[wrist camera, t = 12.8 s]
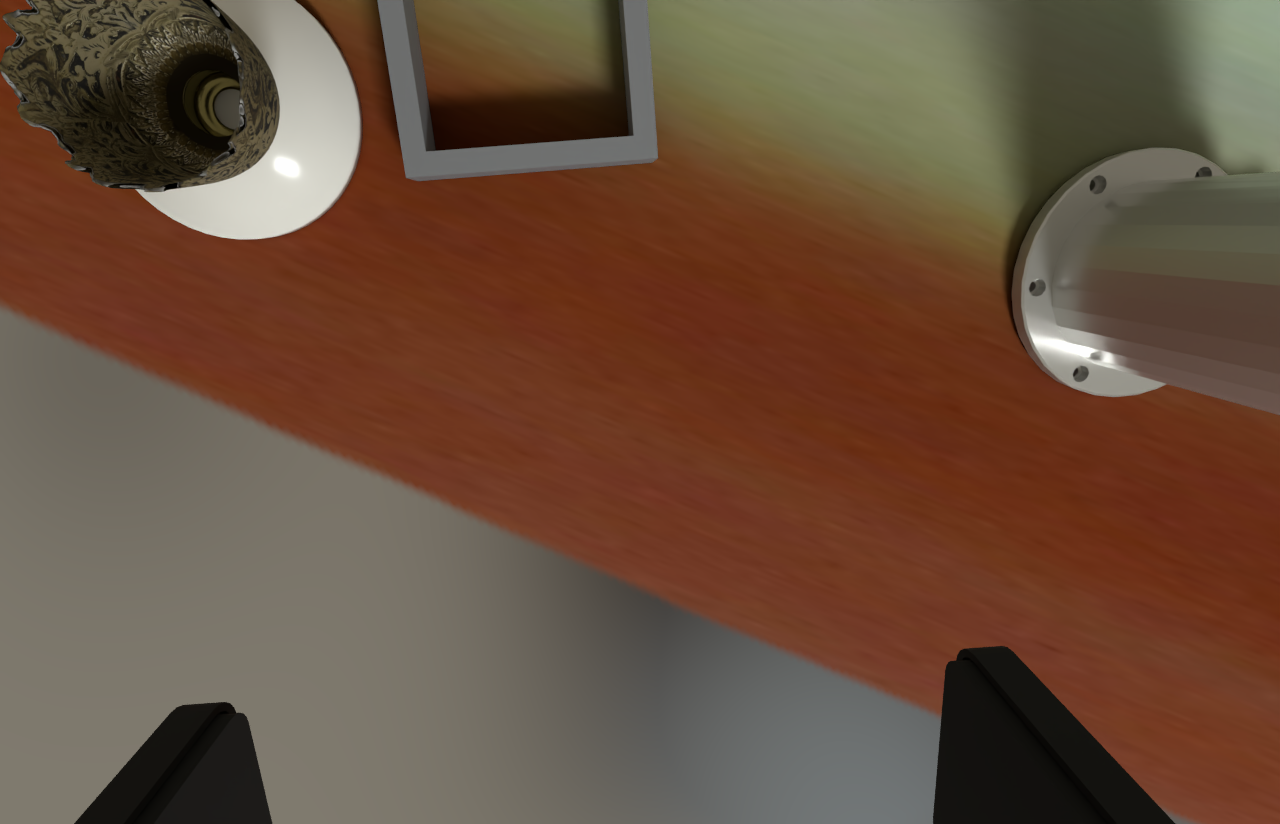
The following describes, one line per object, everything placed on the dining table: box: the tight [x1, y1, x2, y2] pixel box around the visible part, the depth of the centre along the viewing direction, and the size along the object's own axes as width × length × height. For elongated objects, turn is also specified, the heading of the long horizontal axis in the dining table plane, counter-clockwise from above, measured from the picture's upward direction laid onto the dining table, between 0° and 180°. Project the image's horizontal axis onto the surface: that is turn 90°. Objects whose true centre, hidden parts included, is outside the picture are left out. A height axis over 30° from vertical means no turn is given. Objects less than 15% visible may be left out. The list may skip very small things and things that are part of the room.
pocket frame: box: [377, 0, 658, 181], centre depth 30 cm, size 11×11×2 cm
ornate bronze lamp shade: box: [0, 0, 280, 192], centre depth 27 cm, size 8×7×8 cm
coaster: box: [136, 0, 363, 239], centre depth 31 cm, size 11×11×1 cm
